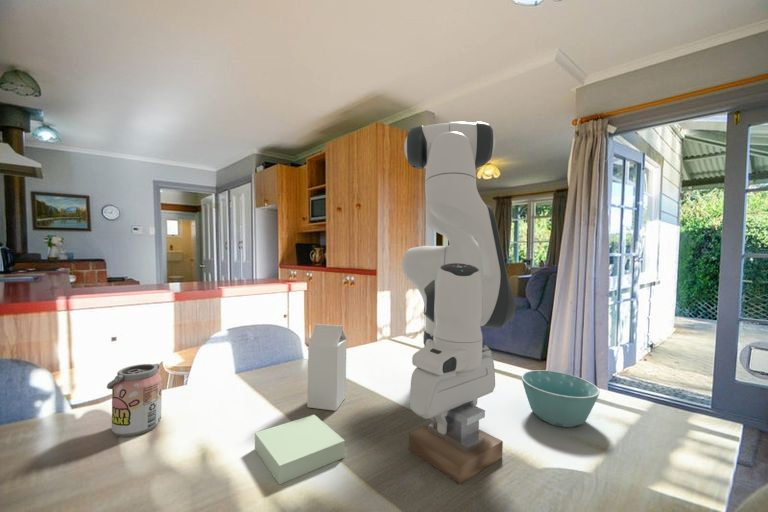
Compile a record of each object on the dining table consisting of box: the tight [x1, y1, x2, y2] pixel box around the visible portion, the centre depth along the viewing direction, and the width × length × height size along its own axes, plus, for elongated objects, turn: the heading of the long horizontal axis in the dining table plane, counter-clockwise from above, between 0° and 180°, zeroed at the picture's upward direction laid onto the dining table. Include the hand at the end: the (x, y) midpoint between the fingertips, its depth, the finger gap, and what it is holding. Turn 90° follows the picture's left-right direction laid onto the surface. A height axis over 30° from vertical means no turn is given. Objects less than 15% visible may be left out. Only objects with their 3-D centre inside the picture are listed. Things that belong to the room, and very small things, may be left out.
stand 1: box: [254, 414, 346, 485], centre depth 62 cm, size 12×12×3 cm
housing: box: [427, 403, 486, 454], centre depth 63 cm, size 5×9×6 cm, turn 38°
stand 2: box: [408, 425, 504, 485], centre depth 63 cm, size 12×12×3 cm
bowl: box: [521, 369, 600, 428], centre depth 77 cm, size 16×16×8 cm
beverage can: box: [106, 363, 163, 438], centre depth 69 cm, size 9×8×12 cm
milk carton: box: [306, 323, 348, 411], centre depth 82 cm, size 7×7×19 cm
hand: (455, 426), depth 63 cm, fingers closed on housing, 5 cm apart
